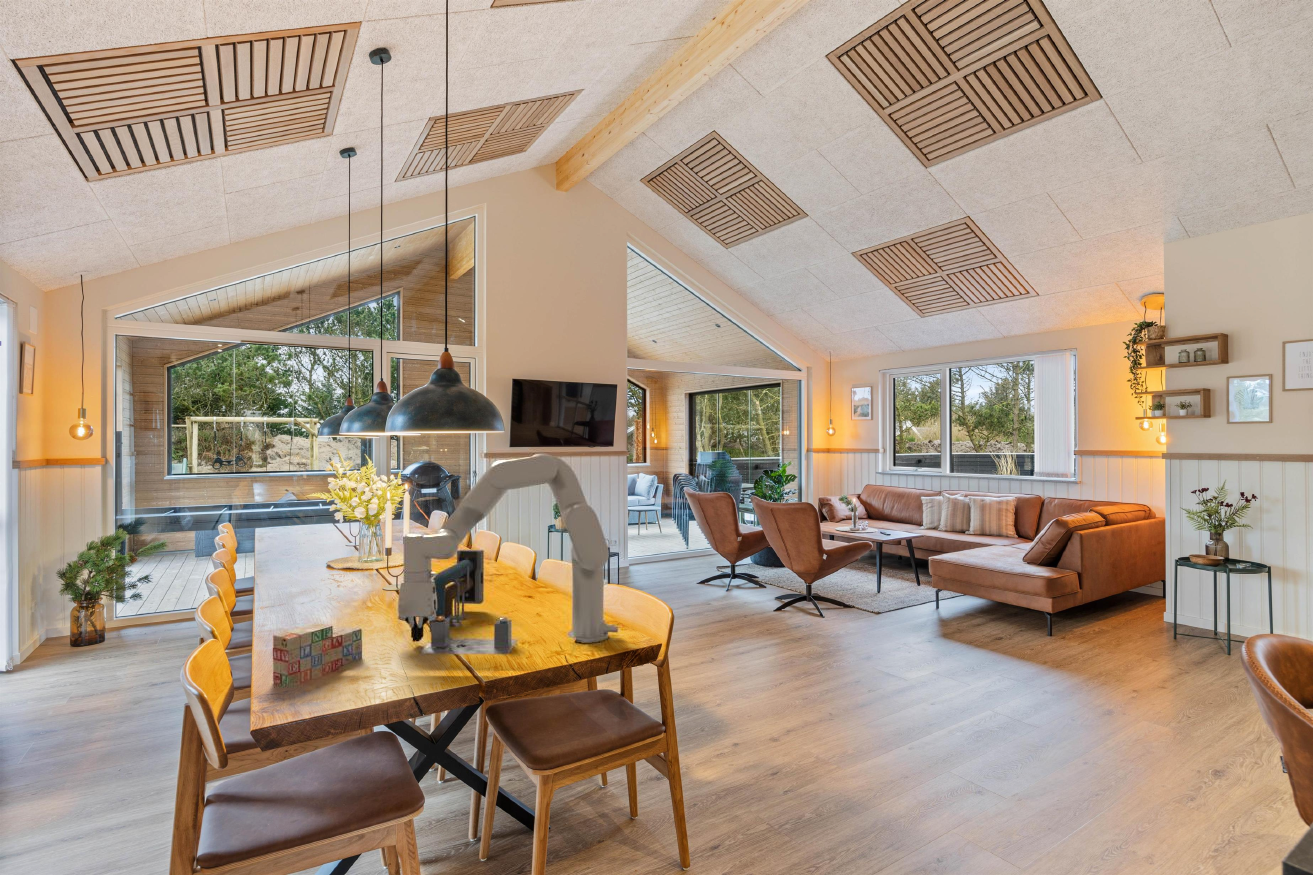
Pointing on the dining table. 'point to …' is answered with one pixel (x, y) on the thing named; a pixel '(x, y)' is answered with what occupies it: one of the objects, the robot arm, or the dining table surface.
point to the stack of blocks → (313, 652)
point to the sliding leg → (440, 632)
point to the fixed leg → (502, 633)
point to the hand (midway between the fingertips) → (417, 640)
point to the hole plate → (468, 647)
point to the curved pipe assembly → (460, 585)
